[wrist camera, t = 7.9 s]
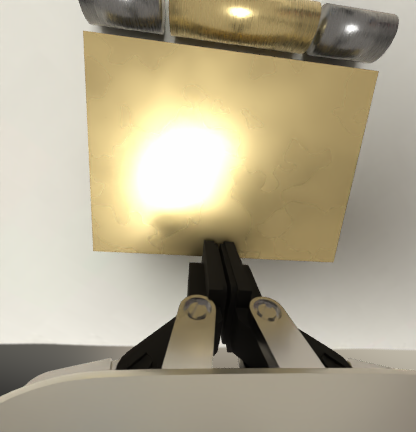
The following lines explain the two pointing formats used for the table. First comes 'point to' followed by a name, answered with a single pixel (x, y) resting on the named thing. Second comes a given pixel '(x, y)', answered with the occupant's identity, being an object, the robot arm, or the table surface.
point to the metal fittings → (320, 46)
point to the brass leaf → (222, 135)
